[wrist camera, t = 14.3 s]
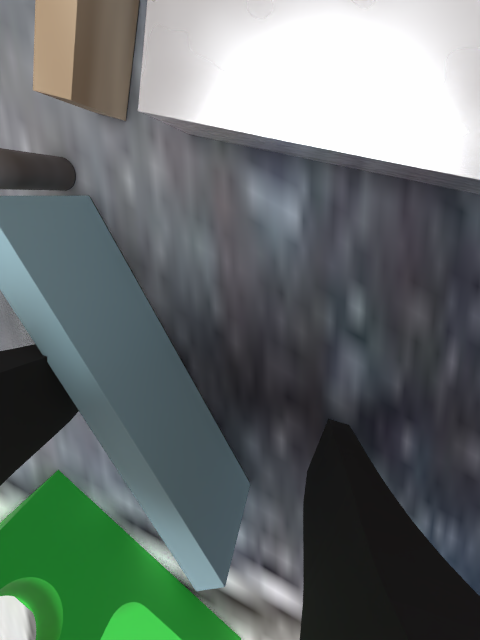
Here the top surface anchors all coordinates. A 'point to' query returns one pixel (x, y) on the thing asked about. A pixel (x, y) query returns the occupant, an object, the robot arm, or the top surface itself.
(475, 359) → the top surface
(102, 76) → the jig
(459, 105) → the block
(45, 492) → the mechanical part
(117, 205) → the top surface
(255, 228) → the top surface
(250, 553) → the top surface
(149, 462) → the bar
